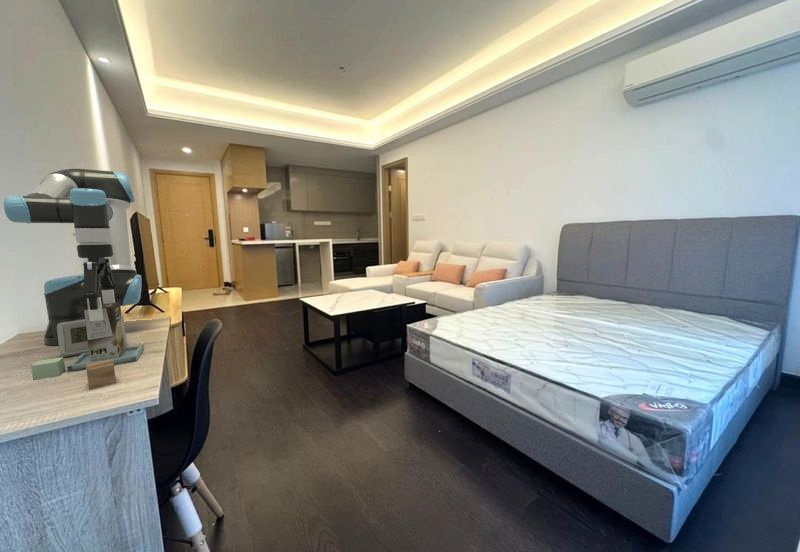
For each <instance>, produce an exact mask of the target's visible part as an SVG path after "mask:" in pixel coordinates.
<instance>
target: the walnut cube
mask: <svg viewBox="0 0 800 552" xmlns="http://www.w3.org/2000/svg"><path fill="white" fill-rule="evenodd" d="M85 370H86V376H87V378H86V379H87V384H88V390H93V389H98V388H102V387H106V386H109V385H113V384H116V383H117V380H116V371H115V365H114V363H113V360H107V361H102V362H97V363H92V364H87V365H86V369H85Z"/></svg>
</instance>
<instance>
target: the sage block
mask: <svg viewBox="0 0 800 552" xmlns="http://www.w3.org/2000/svg"><path fill="white" fill-rule="evenodd" d="M30 368H31V374H32V380H33V381H35V380H42V379H47V378H48V379H49V378H54V377H59V376H62V374H63V373H65V372H66V366H65V357H61V356H60V357H55V358H48V359H41V360H37V361H35V362H34V363H33V364H31V365H30Z"/></svg>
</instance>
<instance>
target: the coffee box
mask: <svg viewBox="0 0 800 552" xmlns="http://www.w3.org/2000/svg"><path fill="white" fill-rule="evenodd" d="M101 305H102V312H103V320H98V321H90V319H89V311H88V308H87V309H85V310H84V314H85V322H86V330H87V338H88V346H89V354H90V362H95V361H101V360H108V359H115V358H120V357H121V356H122V355H123V354H124V352H125V347H126V345H125V342H124V333H123V325H122V316H123V315H122V306H120V303H108V304H101ZM121 315H122V316H121Z"/></svg>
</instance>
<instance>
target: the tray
mask: <svg viewBox="0 0 800 552" xmlns="http://www.w3.org/2000/svg"><path fill="white" fill-rule="evenodd" d="M144 350H145V348H144V344H142V345H141V344H140V345H139V344H138V345H134V346H125V352H124V354H123V355H122V356H121V357H120V358H115V359H108V360H113V363H114V366H115V365H123V364H127V363H128V364H129V363H135V362H137V361H138V360H139V358H140V357H141V355H142V354H143V352H144ZM102 361H107V360H101V361H95V362H90V354H89V352H88V353H82V354H81V355H78V357H76V358H75V359H73V361H72V362H70V363H69V364H68V365H67V366H66V371H67V373H72V372H78V371H84V370H86V365H87V364H92V363H97V362H102Z"/></svg>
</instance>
